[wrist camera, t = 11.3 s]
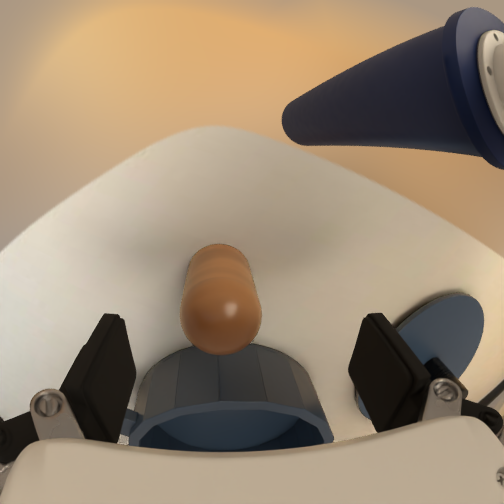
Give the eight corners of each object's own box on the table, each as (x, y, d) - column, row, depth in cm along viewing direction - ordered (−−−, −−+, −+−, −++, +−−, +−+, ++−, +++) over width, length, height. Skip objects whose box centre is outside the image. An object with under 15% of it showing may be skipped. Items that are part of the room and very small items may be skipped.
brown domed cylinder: (203, 233, 18) (196, 283, 11) (260, 259, 19) (284, 318, 12) (178, 286, 19) (163, 355, 12) (233, 309, 20) (242, 381, 13)
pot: (136, 296, 19) (111, 350, 13) (366, 374, 24) (393, 419, 18) (100, 416, 22) (87, 462, 17) (281, 460, 28) (290, 500, 22)
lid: (428, 263, 21) (482, 300, 14) (493, 315, 25) (528, 343, 19) (321, 407, 25) (342, 461, 18) (414, 417, 29) (436, 452, 23)
